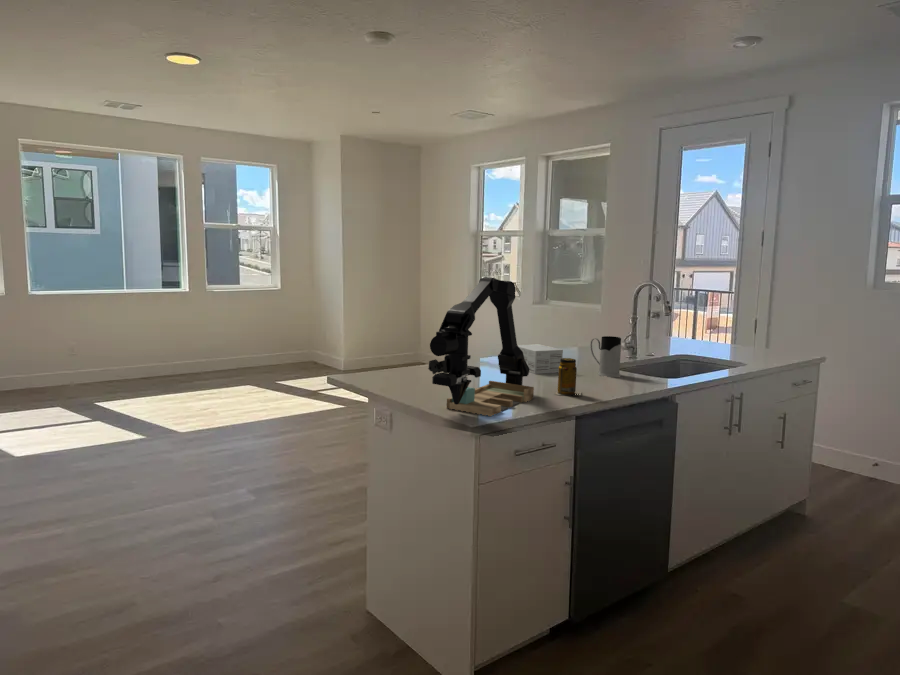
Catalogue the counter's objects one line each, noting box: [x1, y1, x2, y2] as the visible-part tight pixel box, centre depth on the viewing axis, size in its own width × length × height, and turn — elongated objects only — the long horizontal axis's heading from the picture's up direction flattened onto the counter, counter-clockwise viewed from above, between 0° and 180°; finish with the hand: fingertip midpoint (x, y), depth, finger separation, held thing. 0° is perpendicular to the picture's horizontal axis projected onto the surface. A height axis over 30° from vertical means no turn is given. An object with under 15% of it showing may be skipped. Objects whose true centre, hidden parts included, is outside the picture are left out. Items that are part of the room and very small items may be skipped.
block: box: [451, 386, 476, 404], centre depth 194 cm, size 5×5×4 cm
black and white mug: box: [590, 335, 622, 378], centre depth 255 cm, size 9×14×15 cm, turn 39°
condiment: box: [554, 357, 581, 397], centre depth 217 cm, size 7×8×12 cm
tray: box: [446, 380, 535, 417], centre depth 200 cm, size 28×16×4 cm, turn 149°
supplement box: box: [517, 343, 564, 375], centre depth 261 cm, size 17×13×9 cm
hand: (456, 404), depth 189 cm, fingers closed
